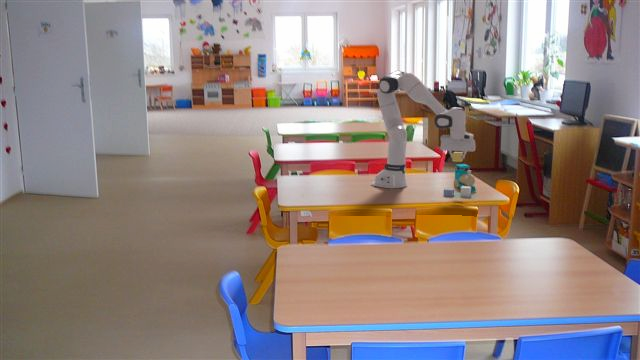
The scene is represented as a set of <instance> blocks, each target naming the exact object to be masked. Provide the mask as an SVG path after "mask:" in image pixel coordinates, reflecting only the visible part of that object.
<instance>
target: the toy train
mask: <svg viewBox="0 0 640 360" xmlns="http://www.w3.org/2000/svg"><path fill="white" fill-rule="evenodd" d="M454 166H455V167H454V180H453V187H454V188H457V189H460V190H461V187H462V186H468V187H471V192H477V189H476V186H475V185H474V184H475V183H476V179H475V177H474V176H472V170H470V165H468V164H466V163H459V164H458V163H457V164H455V165H454ZM458 168H459V169H458ZM466 169H467V170H466Z"/></svg>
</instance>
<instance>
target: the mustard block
mask: <svg viewBox="0 0 640 360" xmlns="http://www.w3.org/2000/svg"><path fill="white" fill-rule="evenodd" d="M451 153H452V158H451V160H452V162H455V163H461V162H463V161H464V160H463V159H462V155H464V151H452V152H451Z"/></svg>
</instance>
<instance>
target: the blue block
mask: <svg viewBox="0 0 640 360" xmlns="http://www.w3.org/2000/svg"><path fill="white" fill-rule="evenodd" d="M454 194H455V188H450V187H446V188H444V189H443V197H452V196H453V195H454Z"/></svg>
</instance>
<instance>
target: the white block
mask: <svg viewBox="0 0 640 360" xmlns="http://www.w3.org/2000/svg"><path fill="white" fill-rule="evenodd" d="M471 194H472V191H471V187H468V186H462V187H461V189H460V196H467V197H469V196H470V195H471Z"/></svg>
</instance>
